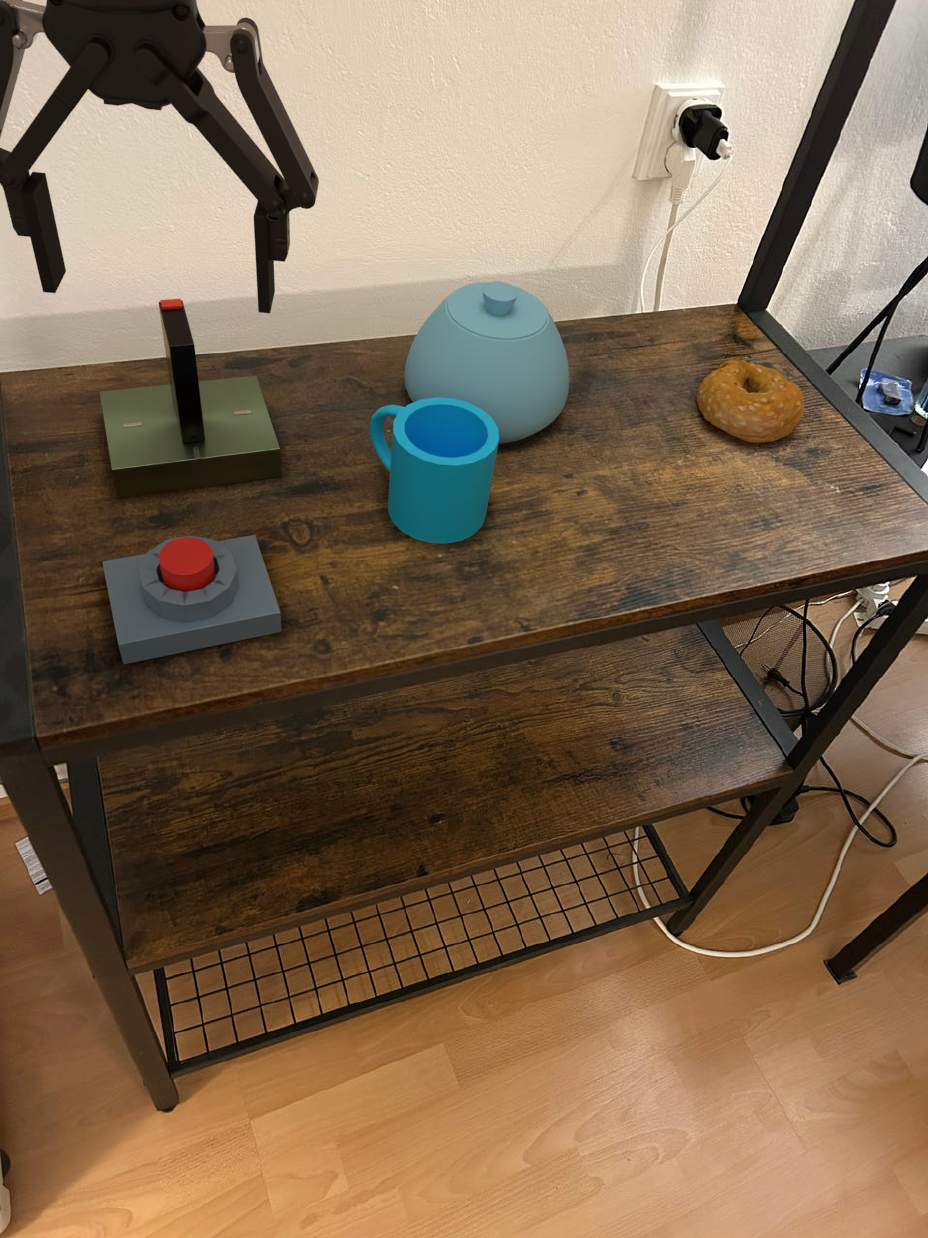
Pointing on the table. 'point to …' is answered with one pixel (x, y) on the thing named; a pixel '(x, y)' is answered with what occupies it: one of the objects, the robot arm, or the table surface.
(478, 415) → the mug
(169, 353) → the black slab
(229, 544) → the button housing
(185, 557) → the button
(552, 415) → the sugar bowl
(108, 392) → the dial panel
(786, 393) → the bagel
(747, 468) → the table surface
